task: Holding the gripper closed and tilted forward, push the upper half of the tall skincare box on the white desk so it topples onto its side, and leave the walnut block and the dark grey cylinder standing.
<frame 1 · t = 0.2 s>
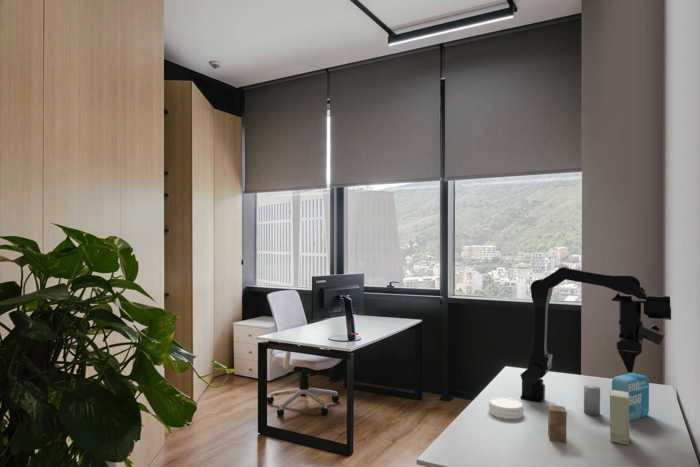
hand: (630, 368, 140), 14 cm above the table, tool pointing down, fingers open, 9 cm apart
grey cylinder: (591, 413, 143), on the table
coaster: (505, 414, 142), on the table
walnut block: (557, 438, 124), on the table
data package: (630, 416, 141), on the table
skincare box: (619, 440, 124), on the table
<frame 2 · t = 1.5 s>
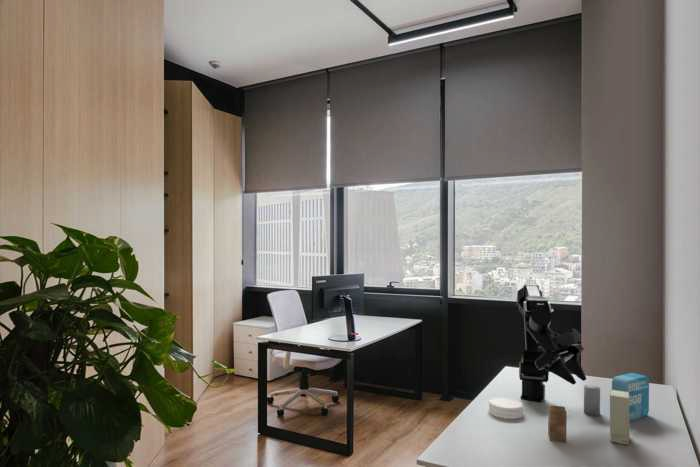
hand: (580, 381, 132), 13 cm above the table, tool tilted 45°, fingers open, 6 cm apart
nothing on the table moved.
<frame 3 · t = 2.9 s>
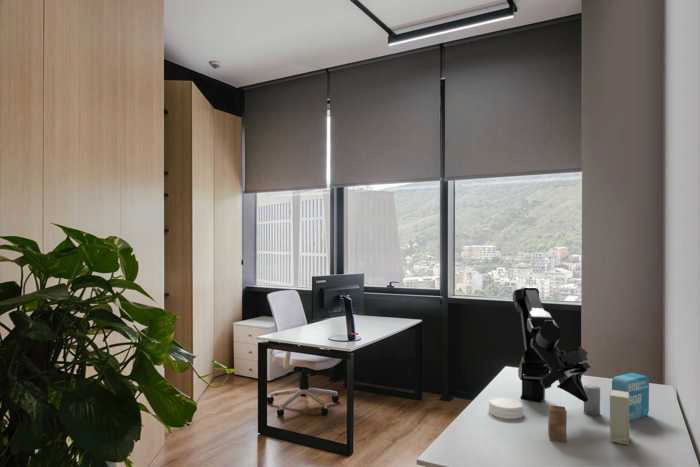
hand: (586, 401, 131), 8 cm above the table, tool tilted 45°, fingers closed
nothing on the table moved.
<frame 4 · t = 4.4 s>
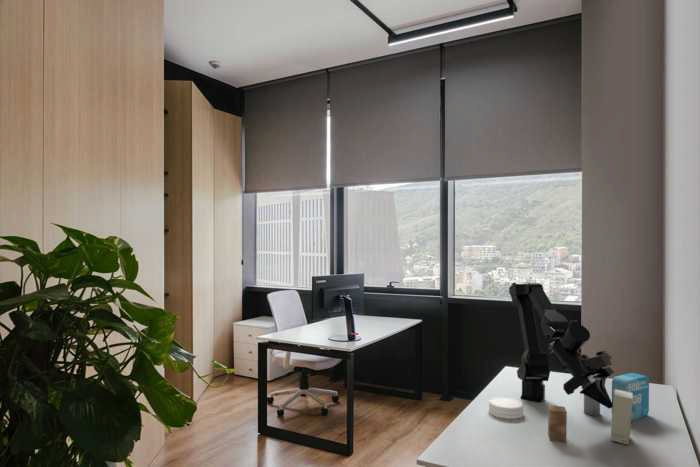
hand: (611, 407, 126), 8 cm above the table, tool tilted 45°, fingers closed
nothing on the table moved.
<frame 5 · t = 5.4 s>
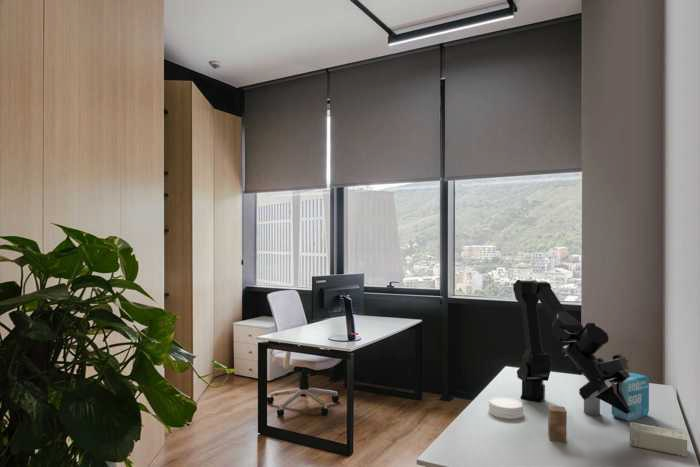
hand: (628, 412, 122), 8 cm above the table, tool tilted 45°, fingers closed
skincare box: (628, 432, 123), point 2 cm above the table
everything else where it was.
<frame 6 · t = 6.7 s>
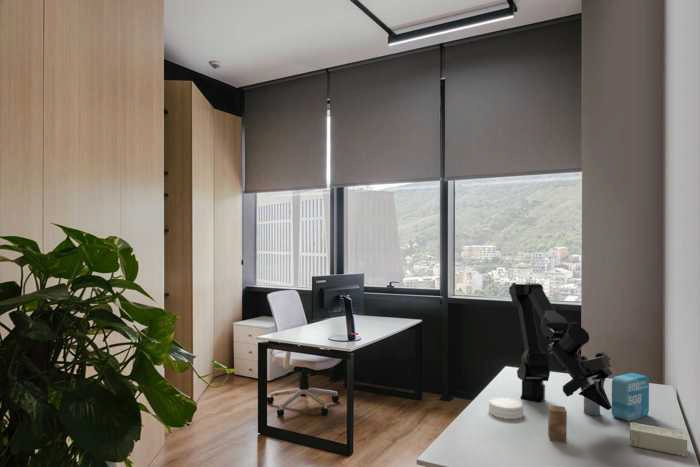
hand: (609, 409, 126), 7 cm above the table, tool tilted 45°, fingers closed
nothing on the table moved.
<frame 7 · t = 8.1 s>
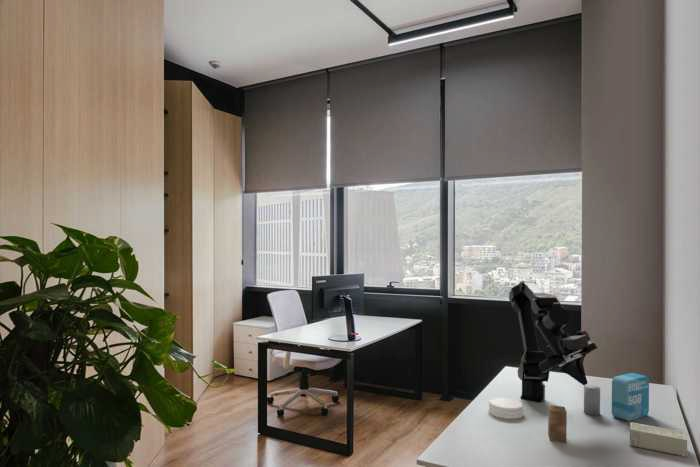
hand: (585, 384, 132), 12 cm above the table, tool tilted 35°, fingers closed
nothing on the table moved.
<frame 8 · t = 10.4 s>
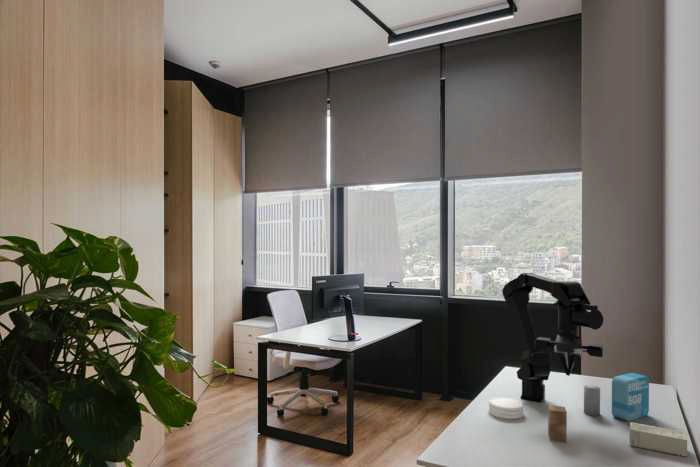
hand: (568, 375, 141), 12 cm above the table, tool pointing down, fingers closed
nothing on the table moved.
at the end: skincare box tilted 91°; skincare box point 2.2 cm above the table; walnut block tilted 0° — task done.
